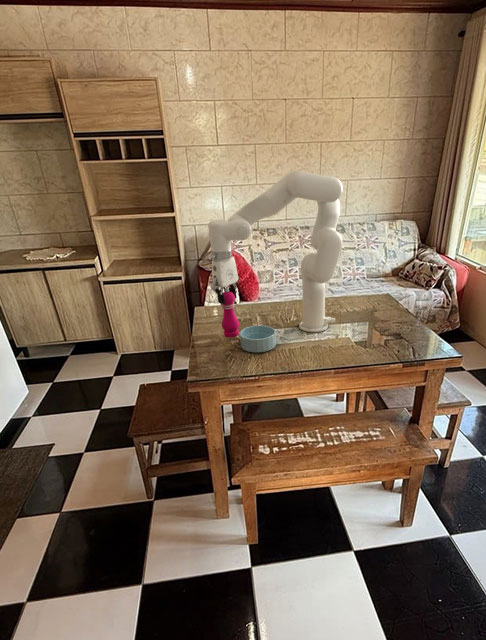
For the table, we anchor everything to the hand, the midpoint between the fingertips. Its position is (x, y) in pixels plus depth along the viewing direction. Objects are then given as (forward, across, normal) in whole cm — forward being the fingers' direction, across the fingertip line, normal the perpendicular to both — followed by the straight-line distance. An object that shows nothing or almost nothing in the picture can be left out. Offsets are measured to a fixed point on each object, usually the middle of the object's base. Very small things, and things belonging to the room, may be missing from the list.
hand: (227, 300), depth 162 cm
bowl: (+17, +1, -14) cm, 22 cm away
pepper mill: (+15, 0, 0) cm, 15 cm away
